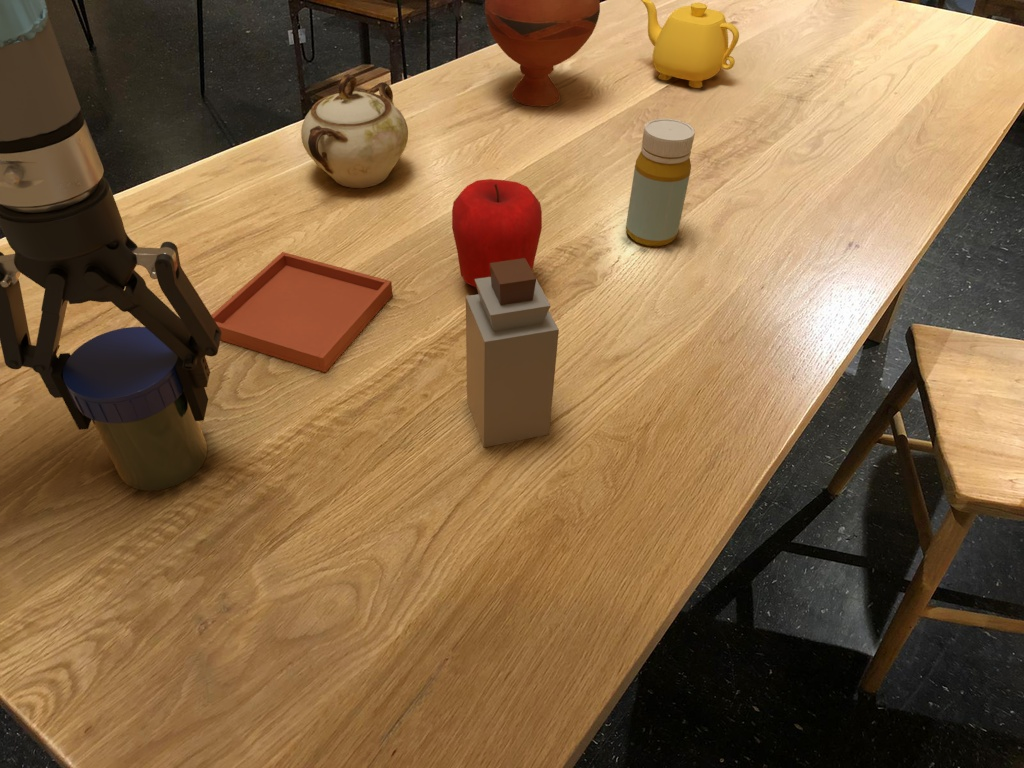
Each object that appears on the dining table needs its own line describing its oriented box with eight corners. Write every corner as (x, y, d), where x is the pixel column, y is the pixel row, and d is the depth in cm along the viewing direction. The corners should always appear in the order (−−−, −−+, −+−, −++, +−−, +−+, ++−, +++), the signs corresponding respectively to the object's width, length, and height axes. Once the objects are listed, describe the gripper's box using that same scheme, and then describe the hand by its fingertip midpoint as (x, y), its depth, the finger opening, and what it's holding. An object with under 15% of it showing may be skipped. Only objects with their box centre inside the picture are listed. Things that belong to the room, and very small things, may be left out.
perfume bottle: (549, 434, 76) (562, 287, 64) (483, 447, 75) (485, 299, 62) (528, 389, 81) (538, 244, 69) (467, 400, 79) (465, 254, 67)
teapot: (716, 98, 138) (732, 24, 129) (616, 73, 145) (625, 1, 137) (741, 74, 147) (757, 3, 138) (646, 52, 154) (656, -17, 145)
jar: (99, 475, 71) (51, 384, 63) (158, 418, 76) (121, 328, 68) (169, 502, 69) (129, 412, 61) (224, 441, 74) (195, 352, 66)
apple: (472, 316, 90) (472, 215, 80) (441, 270, 96) (437, 171, 87) (552, 295, 93) (560, 196, 84) (516, 252, 100) (520, 155, 91)
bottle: (662, 217, 107) (681, 114, 97) (685, 244, 102) (708, 138, 92) (617, 225, 106) (631, 120, 95) (638, 252, 101) (656, 145, 90)
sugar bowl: (365, 218, 105) (353, 112, 95) (277, 192, 109) (256, 88, 99) (436, 158, 118) (432, 60, 108) (355, 137, 122) (343, 40, 112)
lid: (151, 432, 62) (141, 407, 60) (50, 413, 63) (37, 387, 61) (208, 360, 69) (200, 335, 67) (115, 343, 70) (105, 318, 68)
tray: (207, 336, 86) (203, 321, 84) (285, 265, 96) (282, 251, 95) (325, 372, 82) (322, 358, 80) (392, 295, 92) (391, 281, 91)
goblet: (565, 129, 127) (579, -37, 110) (463, 105, 133) (461, -56, 116) (605, 89, 140) (623, -65, 123) (510, 68, 145) (515, -82, 128)
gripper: (-150, 223, 49) (0, 455, 64) (202, 208, 52) (266, 435, 67) (-98, 167, 55) (29, 394, 70) (218, 156, 57) (273, 377, 72)
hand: (145, 414), depth 68 cm, fingers closed on lid, 9 cm apart
